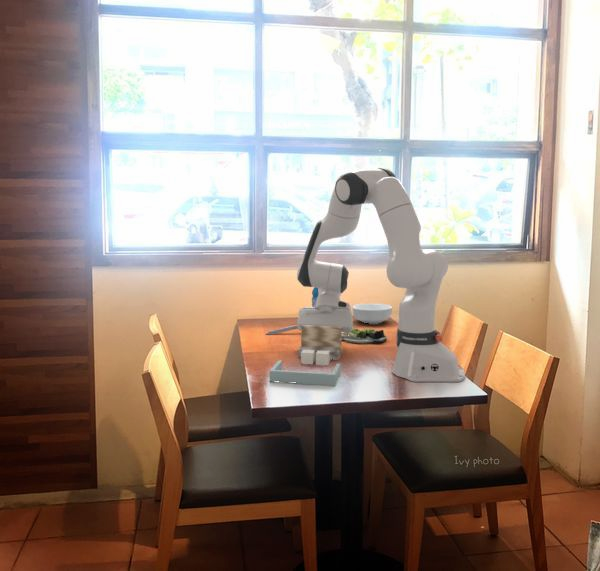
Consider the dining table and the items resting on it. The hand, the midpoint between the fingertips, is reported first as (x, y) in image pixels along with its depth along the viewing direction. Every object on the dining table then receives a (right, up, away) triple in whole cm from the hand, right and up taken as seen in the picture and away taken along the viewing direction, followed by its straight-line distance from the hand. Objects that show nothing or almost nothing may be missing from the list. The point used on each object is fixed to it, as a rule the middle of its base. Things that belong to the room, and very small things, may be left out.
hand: (323, 340), depth 230 cm
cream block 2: (-1, -7, -14) cm, 16 cm away
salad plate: (+17, -2, +20) cm, 26 cm away
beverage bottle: (+1, +3, +46) cm, 46 cm away
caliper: (-12, 0, +28) cm, 31 cm away
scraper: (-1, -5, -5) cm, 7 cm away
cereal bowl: (+23, +3, +48) cm, 54 cm away
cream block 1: (-5, -7, -13) cm, 16 cm away
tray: (-6, -9, -30) cm, 32 cm away
